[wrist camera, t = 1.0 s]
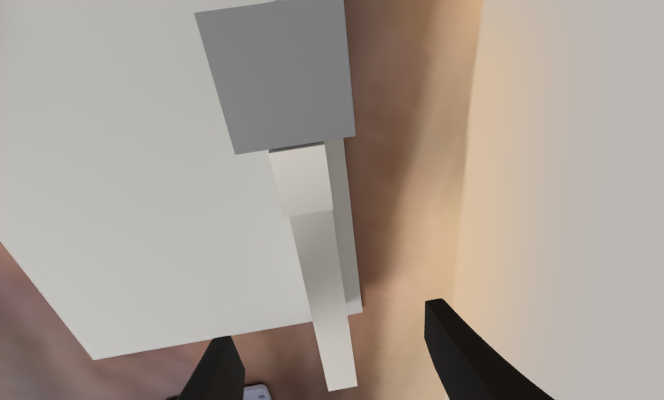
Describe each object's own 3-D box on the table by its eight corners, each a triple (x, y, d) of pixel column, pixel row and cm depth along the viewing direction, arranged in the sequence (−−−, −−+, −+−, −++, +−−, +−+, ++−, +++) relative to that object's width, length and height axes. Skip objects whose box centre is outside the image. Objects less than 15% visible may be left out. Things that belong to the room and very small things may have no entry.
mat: (361, 307, 21) (362, 312, 21) (96, 354, 21) (93, 360, 20) (320, -60, 12) (321, -64, 12) (-171, 4, 11) (-186, 2, 11)
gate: (239, 23, 12) (194, 12, 7) (320, 12, 12) (342, -8, 7) (307, 316, 20) (313, 425, 14) (356, 307, 20) (380, 412, 15)
